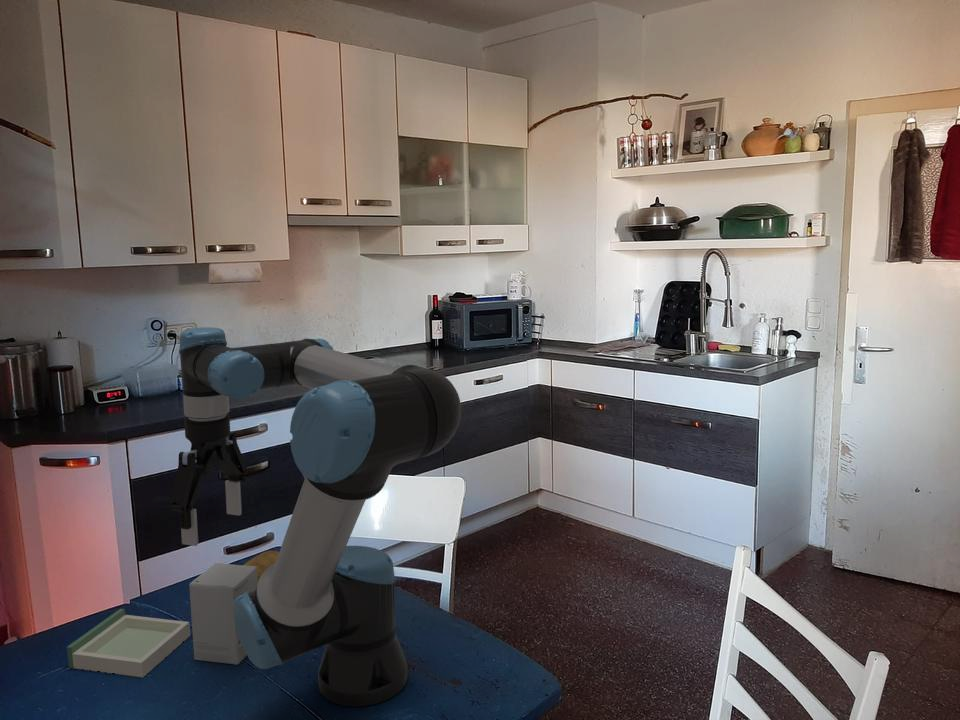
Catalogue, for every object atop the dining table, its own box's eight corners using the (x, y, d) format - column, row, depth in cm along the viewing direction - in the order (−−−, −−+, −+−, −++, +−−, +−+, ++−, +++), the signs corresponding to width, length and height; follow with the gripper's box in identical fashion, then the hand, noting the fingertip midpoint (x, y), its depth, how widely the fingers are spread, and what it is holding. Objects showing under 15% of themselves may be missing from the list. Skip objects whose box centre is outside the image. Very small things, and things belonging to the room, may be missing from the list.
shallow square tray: (190, 635, 143) (188, 616, 142) (142, 677, 129) (140, 656, 129) (122, 627, 146) (120, 608, 145) (68, 667, 132) (66, 647, 132)
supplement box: (238, 666, 132) (233, 587, 130) (193, 661, 134) (186, 583, 132) (263, 639, 141) (258, 565, 139) (220, 634, 143) (214, 561, 140)
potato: (298, 579, 166) (296, 545, 164) (268, 610, 152) (266, 573, 151) (258, 575, 168) (256, 542, 166) (225, 605, 154) (222, 569, 153)
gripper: (228, 397, 143) (233, 500, 148) (140, 433, 120) (149, 555, 124) (263, 400, 142) (267, 505, 146) (181, 437, 118) (188, 561, 122)
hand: (213, 528), depth 135 cm, fingers open, 13 cm apart
